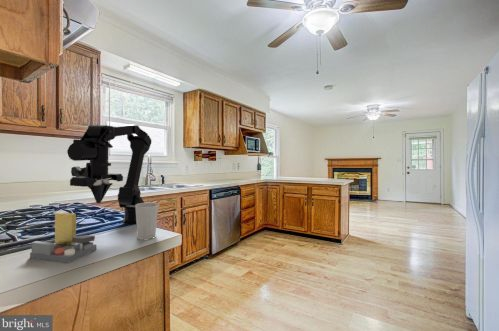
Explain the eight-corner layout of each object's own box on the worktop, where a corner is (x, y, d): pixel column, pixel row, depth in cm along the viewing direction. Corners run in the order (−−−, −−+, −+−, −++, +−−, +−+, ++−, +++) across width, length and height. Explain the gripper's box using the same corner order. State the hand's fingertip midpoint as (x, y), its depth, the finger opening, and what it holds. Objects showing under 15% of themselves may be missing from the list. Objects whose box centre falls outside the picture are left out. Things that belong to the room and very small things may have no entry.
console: (62, 245, 79) (62, 230, 79) (96, 249, 77) (96, 234, 77) (30, 257, 70) (30, 241, 69) (68, 263, 68) (68, 246, 67)
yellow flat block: (60, 241, 78) (60, 211, 78) (77, 243, 77) (77, 213, 77) (53, 243, 76) (53, 213, 75) (70, 245, 75) (70, 215, 74)
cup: (141, 242, 85) (142, 208, 84) (130, 237, 89) (131, 204, 89) (162, 236, 91) (163, 205, 90) (150, 232, 96) (151, 201, 95)
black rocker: (85, 239, 77) (86, 235, 78) (94, 240, 77) (95, 236, 77) (71, 242, 72) (72, 237, 73) (81, 243, 72) (81, 238, 72)
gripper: (99, 158, 99) (98, 196, 99) (55, 159, 80) (55, 206, 81) (124, 159, 97) (123, 199, 98) (85, 161, 78) (84, 209, 79)
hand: (98, 202), depth 89 cm, fingers closed
